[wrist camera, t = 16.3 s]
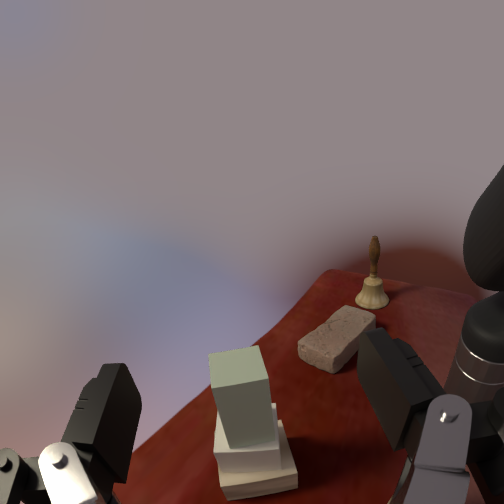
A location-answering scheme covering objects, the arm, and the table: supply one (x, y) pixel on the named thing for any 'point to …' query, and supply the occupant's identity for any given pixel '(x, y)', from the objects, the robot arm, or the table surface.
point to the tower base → (262, 476)
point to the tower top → (247, 452)
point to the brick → (336, 339)
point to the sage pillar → (242, 396)
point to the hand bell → (373, 282)
